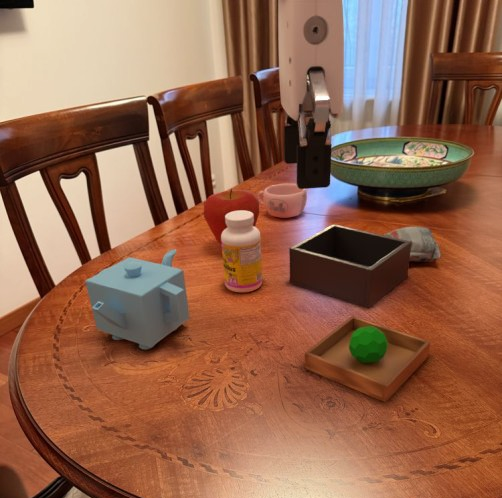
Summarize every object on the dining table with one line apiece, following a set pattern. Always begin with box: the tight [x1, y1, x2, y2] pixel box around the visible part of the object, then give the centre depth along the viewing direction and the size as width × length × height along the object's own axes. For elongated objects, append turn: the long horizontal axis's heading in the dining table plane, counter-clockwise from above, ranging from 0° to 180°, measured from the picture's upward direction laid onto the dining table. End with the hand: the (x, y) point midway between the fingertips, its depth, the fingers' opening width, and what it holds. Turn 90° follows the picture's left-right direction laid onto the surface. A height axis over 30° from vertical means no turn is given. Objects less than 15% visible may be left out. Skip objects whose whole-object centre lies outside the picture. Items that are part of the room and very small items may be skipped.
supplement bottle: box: [221, 210, 263, 293], centre depth 88 cm, size 7×7×13 cm
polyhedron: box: [349, 326, 388, 363], centre depth 68 cm, size 5×5×5 cm
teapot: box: [84, 248, 191, 350], centre depth 77 cm, size 16×18×11 cm
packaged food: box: [383, 226, 442, 263], centre depth 97 cm, size 9×12×5 cm
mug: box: [256, 183, 308, 219], centre depth 120 cm, size 12×10×6 cm
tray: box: [304, 315, 431, 403], centre depth 69 cm, size 12×12×2 cm
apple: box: [203, 188, 260, 246], centre depth 103 cm, size 11×11×12 cm
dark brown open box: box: [288, 223, 412, 309], centre depth 89 cm, size 16×14×7 cm
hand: (305, 173), depth 55 cm, fingers open, 9 cm apart
